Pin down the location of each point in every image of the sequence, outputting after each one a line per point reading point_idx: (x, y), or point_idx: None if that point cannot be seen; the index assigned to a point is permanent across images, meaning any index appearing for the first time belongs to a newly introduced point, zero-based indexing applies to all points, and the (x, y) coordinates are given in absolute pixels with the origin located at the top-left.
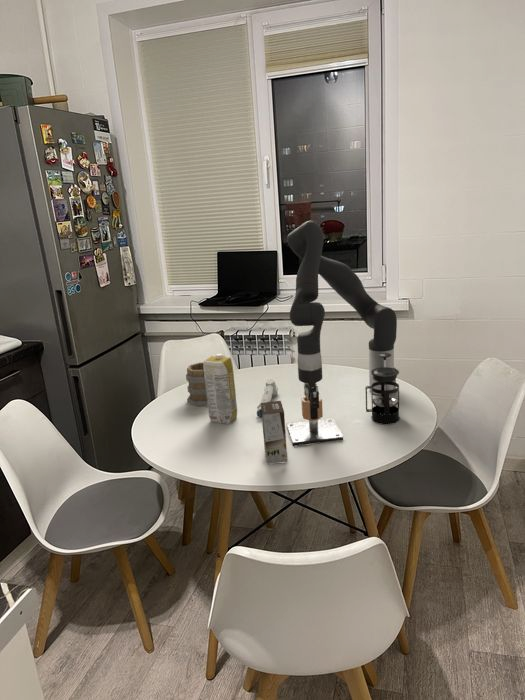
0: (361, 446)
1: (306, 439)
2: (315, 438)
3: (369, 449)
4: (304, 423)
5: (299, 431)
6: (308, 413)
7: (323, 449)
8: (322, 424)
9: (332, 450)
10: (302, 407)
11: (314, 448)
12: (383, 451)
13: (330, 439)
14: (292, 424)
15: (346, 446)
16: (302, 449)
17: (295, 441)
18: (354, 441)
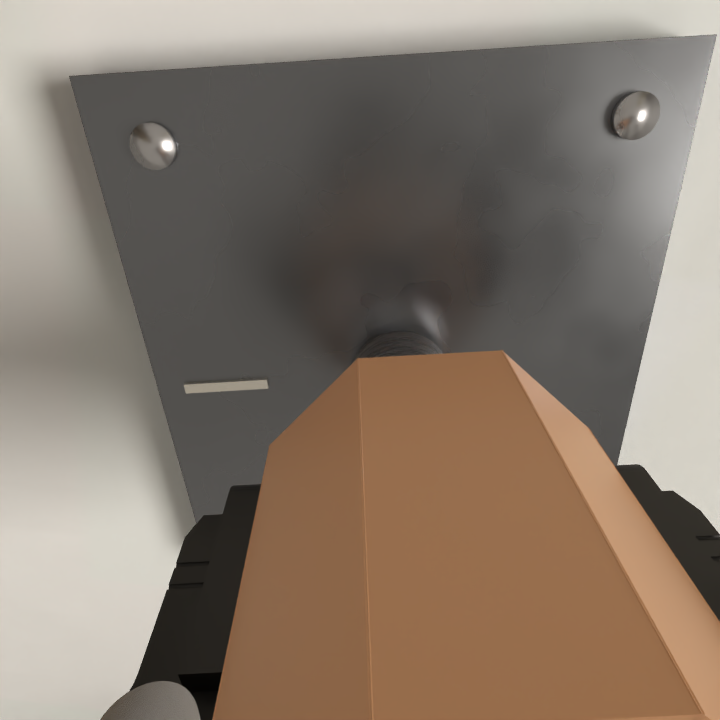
0: (113, 626)
1: (165, 272)
2: (185, 368)
3: (70, 654)
4: (607, 295)
5: (399, 210)
6: (271, 519)
7: (39, 396)
8: None
9: (28, 459)
10: (462, 490)
11: (52, 321)
12: (49, 703)
13: (192, 481)
14: (634, 132)
15: (109, 553)
16: (14, 191)
17: (107, 122)
18: None
